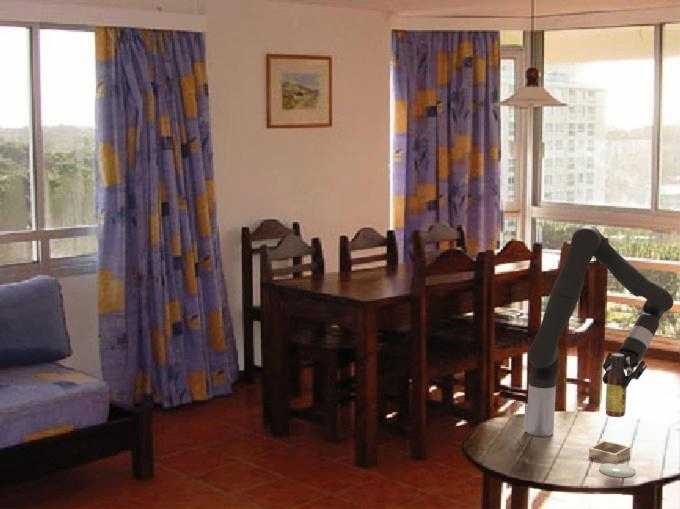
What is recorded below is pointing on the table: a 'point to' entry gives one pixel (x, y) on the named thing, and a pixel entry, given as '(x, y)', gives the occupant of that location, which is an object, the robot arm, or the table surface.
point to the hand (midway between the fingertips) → (613, 384)
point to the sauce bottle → (616, 388)
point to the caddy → (600, 454)
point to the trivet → (617, 470)
